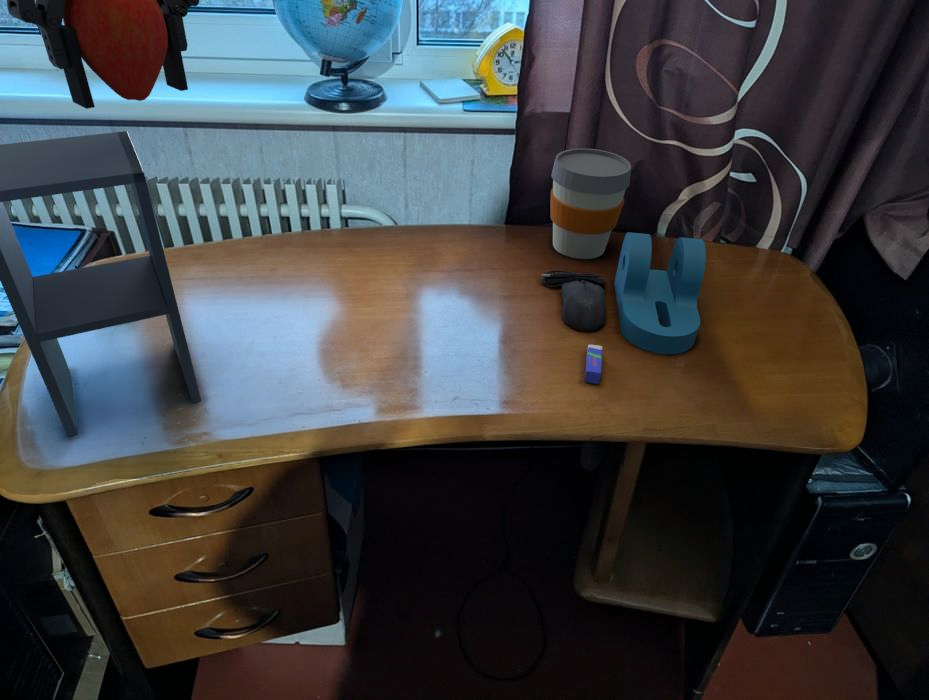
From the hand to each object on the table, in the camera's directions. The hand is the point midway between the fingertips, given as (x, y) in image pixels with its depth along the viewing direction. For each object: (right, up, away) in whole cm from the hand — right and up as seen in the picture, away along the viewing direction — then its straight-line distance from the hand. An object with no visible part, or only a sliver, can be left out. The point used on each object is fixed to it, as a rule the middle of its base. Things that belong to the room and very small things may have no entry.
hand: (132, 95), depth 63 cm
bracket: (+60, -20, +34) cm, 71 cm away
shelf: (-8, -29, +16) cm, 34 cm away
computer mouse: (+49, -18, +35) cm, 63 cm away
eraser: (+48, -27, +23) cm, 60 cm away
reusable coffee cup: (+51, -7, +50) cm, 72 cm away
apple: (0, 0, 0) cm, 1 cm away
